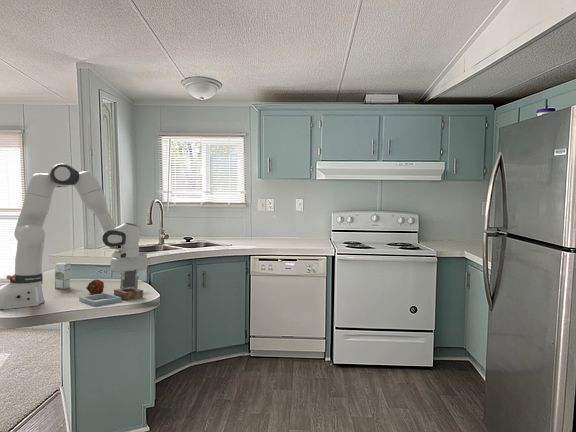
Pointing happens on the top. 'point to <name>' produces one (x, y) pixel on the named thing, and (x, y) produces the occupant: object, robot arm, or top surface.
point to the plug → (129, 279)
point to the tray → (95, 303)
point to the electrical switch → (129, 287)
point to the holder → (128, 293)
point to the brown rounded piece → (95, 286)
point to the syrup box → (62, 275)
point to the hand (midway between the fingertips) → (129, 278)
